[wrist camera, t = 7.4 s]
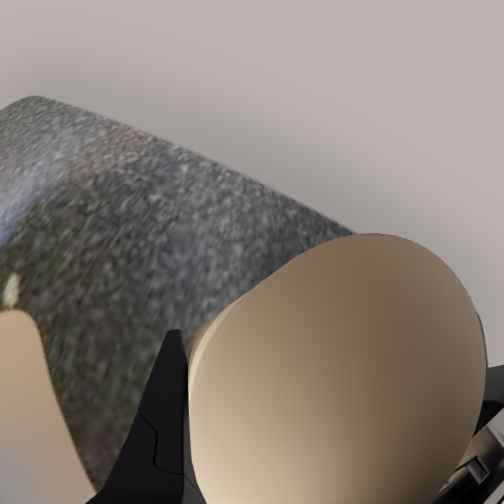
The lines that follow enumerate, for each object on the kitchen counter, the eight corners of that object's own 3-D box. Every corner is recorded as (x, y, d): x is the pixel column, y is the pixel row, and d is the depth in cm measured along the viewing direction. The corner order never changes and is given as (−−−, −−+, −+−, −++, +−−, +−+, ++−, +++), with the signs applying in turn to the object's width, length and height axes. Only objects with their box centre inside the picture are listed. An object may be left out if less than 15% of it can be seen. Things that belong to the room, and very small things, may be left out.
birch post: (228, 402, 15) (368, 569, 2) (172, 354, 15) (97, 453, 2) (274, 349, 16) (506, 356, 3) (222, 302, 16) (361, 167, 3)
